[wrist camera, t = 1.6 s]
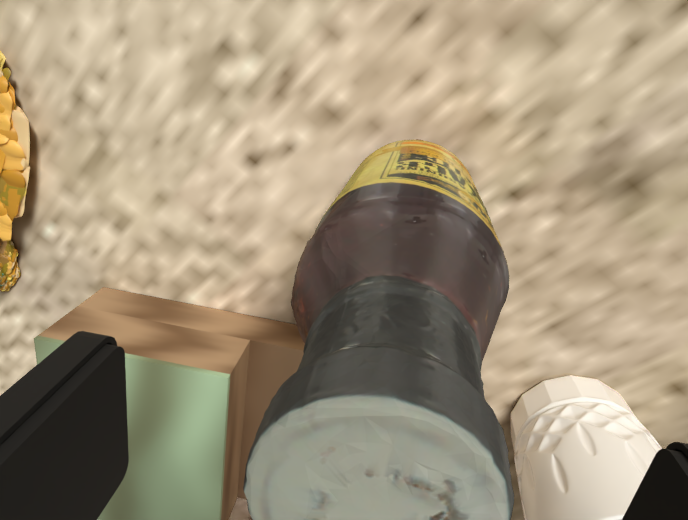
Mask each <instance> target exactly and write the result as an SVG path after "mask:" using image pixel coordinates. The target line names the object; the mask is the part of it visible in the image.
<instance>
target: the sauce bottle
mask: <svg viewBox="0 0 688 520" xmlns="http://www.w3.org/2000/svg"><path fill="white" fill-rule="evenodd" d="M508 290H509V271H508V266H507V261H506V258H505V255H504V252H503V250H502V247H501V245H500V242H499V240H498V238H497V236H496V233H495V231H494V229H493V226H492V224H491V220H490V218H489V216H488V213H487V210H486V208H485V207H484V205H483V202H482V200H481V198H480V196H479V194H478V192H477V189H476V187H475V185H474V183H473V181H472V178H471V176H470V174H469V172H468V171H467V169H466V168H465V166H464V165H463V164H462V162H461V161H460V160H459V159H458V158H457V157H456V156H455V155H454V154H453V153H451V152H450V151H448V150H447V149H445V148H443V147H441V146H440V145H437V144H434V143H431V142H427V141H423V140H403V141H397V142H393V143H390V144H388V145H385V146H383V147H381V148H380V149H378V150H376V151H375V152H373V153H372V154H371V155H369V156H368V157H367V158H366V159H365V160H364V161H363V162H362V163H361V164H360V166H359V167H358V168H357V170H356V171H355V172H354V174H353V175H352V177H351V178H350V180H349V181H348V183H347V184H346V186H345V187H344V189H343V190H342V192H341V193H340V194H339V196H338V197H337V198H336V200H335V201H334V202H333V203H332V205H331V206H330V208H329V209H328V211H327V212H326V213H325V215H324V216H323V218H322V220H321V221H320V223H319V225H318V227H317V228H316V231H315V234H314V235H313V237H312V238H311V239H310V240H309V241H308V242H307V245H306V247H305V250H304V252H303V254H302V256H301V258H300V261H299V264H298V267H297V272H296V275H295V282H294V287H293V292H292V300H291V305H292V308H293V313H294V317H295V320H296V322H297V327H298V331H299V333H300V335H301V338H302V340H303V342H304V343H305V346H304V350H303V352H304V355H303V357H302V360H301V363H300V365H299V367H298V369H297V372H296V373H294V374H293V375H291V376H290V377H289V378H288V379H287V380H286V381H285V382H284V383H283V384H282V385H281V386H280V388H279V389H278V391H277V393H276V395H275V396H274V397H273V398H272V399H271V402H270V405H269V407H268V408H267V410H266V411H265V413H264V417H263V419H262V421H261V424H260V426H259V428H258V431H257V433H256V436H255V440H254V442H253V445H252V447H251V449H250V452H249V456H248V459H247V463H246V469H245V478H244V486H243V490H244V493H245V496H246V498H247V503H248V510H249V513H250V515H251V517H252V519H253V520H511V515H512V510H513V504H514V493H513V488H512V484H511V474H510V470H509V469H510V464H509V460H508V448H507V445H506V441H505V437H504V432H503V429H502V427H501V426H500V424H499V422H498V420H497V418H496V416H495V414H494V411H493V410H492V408H491V407H490V406H489V405H488V403H487V402H486V401H485V398H484V391H483V382H482V380H481V372H480V371H481V365H482V360H483V358H484V355H485V353H486V350H487V347H488V345H489V342H490V339H491V336H492V334H493V331H494V328H495V325H496V323H497V320H498V317H499V314H500V312H501V309H502V307H503V305H504V303H505V301H506V297H507V293H508Z"/></svg>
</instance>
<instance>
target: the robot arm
mask: <svg viewBox="0 0 688 520" xmlns="http://www.w3.org/2000/svg"><path fill="white" fill-rule="evenodd" d="M128 462H129V454H128V426H127V398H126V369H125V351H124V349H123V348H122V347H120V346H117V342H116V340H115V338H114V337H112V336H107V335H102V334H96V333H91V332H86V331H78V332H77V333H75V334H73V335H72V336H71V337H70V338H69V339H67V340H66V341H65V342H64V343H63V344H61V345H60V346H59V347H58V348H57V349H56V350H54V351H53V352H52V353H51V354H50V355H48V356H47V357H46V358H45V359H44V360H42V361H41V362H40V363H39V364H38V365H36V366H35V367H34V368H33V369H32V370H31V371H29V372H28V373H27V374H26V375H25V376H23V377H22V378H21V379H20V380H19V381H17V382H16V383H15V384H14V385H13V386H11V387H10V388H9V389H8V390H7V391H6V392H4V393H3V394H2V395H1V396H0V520H97V519H98V517H99V516H100V514H101V513H102V511H103V510H104V508H105V507H106V505H107V504H108V502H109V501H110V499H111V498H112V496H113V495H114V493H115V492H116V490H117V489H118V487H119V485H120V484H121V482H122V481H123V479H124V476H125V474H126V471H127V468H128ZM622 520H688V444H685V443H679V442H674V443H671V444H670V445H668V446H667V448H666V449H661V450H659V451H658V452H657V453H656V455H655V456H654V458H653V460H652V462H651V464H650V466H649V468H648V470H647V472H646V474H645V476H644V478H643V480H642V482H641V484H640V486H639V487H638V489H637V491H636V493H635V495H634V497H633V499H632V501H631V503H630V505H629V507H628V509H627V511H626V513H625V515H624V517H623V519H622Z"/></svg>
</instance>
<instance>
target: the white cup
mask: <svg viewBox="0 0 688 520" xmlns="http://www.w3.org/2000/svg"><path fill="white" fill-rule="evenodd" d="M511 439H512V444H513V448H514V453H515V455H514V460H515V467H516V473H517V478H518V485H519V491H520V496H521V504H522V509H523V514H524V519H525V520H622V519H623V517H624V515H625V513H626V511H627V509H628V507H629V505H630V503H631V501H632V499H633V497H634V495H635V493H636V491H637V489H638V487H639V486H640V484H641V482H642V480H643V478H644V476H645V474H646V472H647V470H648V468H649V466H650V464H651V462H652V460H653V458H654V456H655V455H656V453H657V452H658V451H659V450H661V449H662V448H661V447H660V445H659V444H658V442H657V441H656V440H655V438H654V437H653V436H652V435H651V433H650V432H649V431H648V430H647V429H646V428H645V427H644V426H643V425H642V424H641V423H640V422H639V420H638V419H637V418H636V416H635V415H634V413H633V412H632V410H631V409H630V408H629V406H628V405H627V403H626V402H625V400H624V399H623V398H622V396H621V395H620V393H619V392H617V391H615V390H614V389H612V388H611V387H609V386H607V385H606V384H604V383H603V382H601V381H599V380H598V379H593V378H586V377H580V376H573V375H568V376H563V377H559V378H554V379H549V380H544V381H542V382H541V383H539V384H538V385H536V386H534V387H533V388H531V389H530V390H528V391H527V392H525V393H524V394H522V396H521V397H520V399H519V401H518V402H517V404H516V406H515V407H514V409H513V410H512V412H511Z"/></svg>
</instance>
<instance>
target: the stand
mask: <svg viewBox="0 0 688 520" xmlns="http://www.w3.org/2000/svg"><path fill="white" fill-rule="evenodd" d="M78 331H86V332H91V333H96V334H102V335H107V336H112V337H114V338H115V340H116V342H117V346H120V347H122V348H123V349H124V351H125V369H126V398H127V426H128V454H129V462H128V468H127V471H126V474H125V476H124V479H123V481H122V482H121V484H120V485H119V487H118V489H117V490H116V492H115V493H114V495H113V496H112V498H111V499H110V501H109V502H108V504H107V505H106V507H105V508H104V510H103V511H102V513H101V514H100V516H99V517H98V520H228V519H229V517H230V514H231V512H232V509H233V507H234V504H235V502H236V499H237V497H240V498H244V499H247V498H246V496H245V493H244V490H243V486H244V478H245V469H246V463H247V459H248V456H249V452H250V449H251V447H252V445H253V442H254V440H255V436H256V433H257V431H258V428H259V426H260V424H261V421H262V419H263V417H264V413H265V411H266V410H267V408H268V407H269V405H270V402H271V399H272V398H273V397H274V396H275V395H276V393H277V391H278V389H279V388H280V386H281V385H282V384H283V383H284V382H285V381H286V380H287V379H288V378H289V377H290V376H291V375H293V374H294V373H296V372H297V369H298V367H299V365H300V363H301V360H302V357H303V355H304V352H303V350H304V346H305V343H304V342H303V340H302V338H301V335H300V333H299V331H298V327H297V325H296V324H290V323H285V322H280V321H275V320H270V319H265V318H260V317H254V316H249V315H244V314H239V313H234V312H229V311H223V310H218V309H213V308H208V307H203V306H198V305H193V304H187V303H182V302H177V301H172V300H167V299H162V298H156V297H151V296H146V295H141V294H136V293H131V292H126V291H120V290H115V289H110V288H105V287H103V288H102V289H100V290H99V291H98V292H96V293H95V294H94V295H92V296H91V297H90V298H88V299H87V300H86V301H84V302H83V303H81V304H80V305H79V306H77V307H76V308H75V309H73V310H72V311H71V312H69V313H68V314H67V315H65V316H64V317H63V318H61V319H60V320H59V321H57V322H56V323H54V324H53V325H52V326H50V327H49V328H48V329H46V330H45V331H44V332H42V333H41V334H40V335H38V336H37V337H36V338H34V343H35V351H36V359H37V365H38V364H39V363H40V362H41V361H42V360H44V359H45V358H46V357H47V356H48V355H50V354H51V353H52V352H53V351H54V350H56V349H57V348H58V347H59V346H60V345H61V344H63V343H64V342H65V341H66V340H67V339H69V338H70V337H71V336H72V335H73V334H75V333H77V332H78Z"/></svg>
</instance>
